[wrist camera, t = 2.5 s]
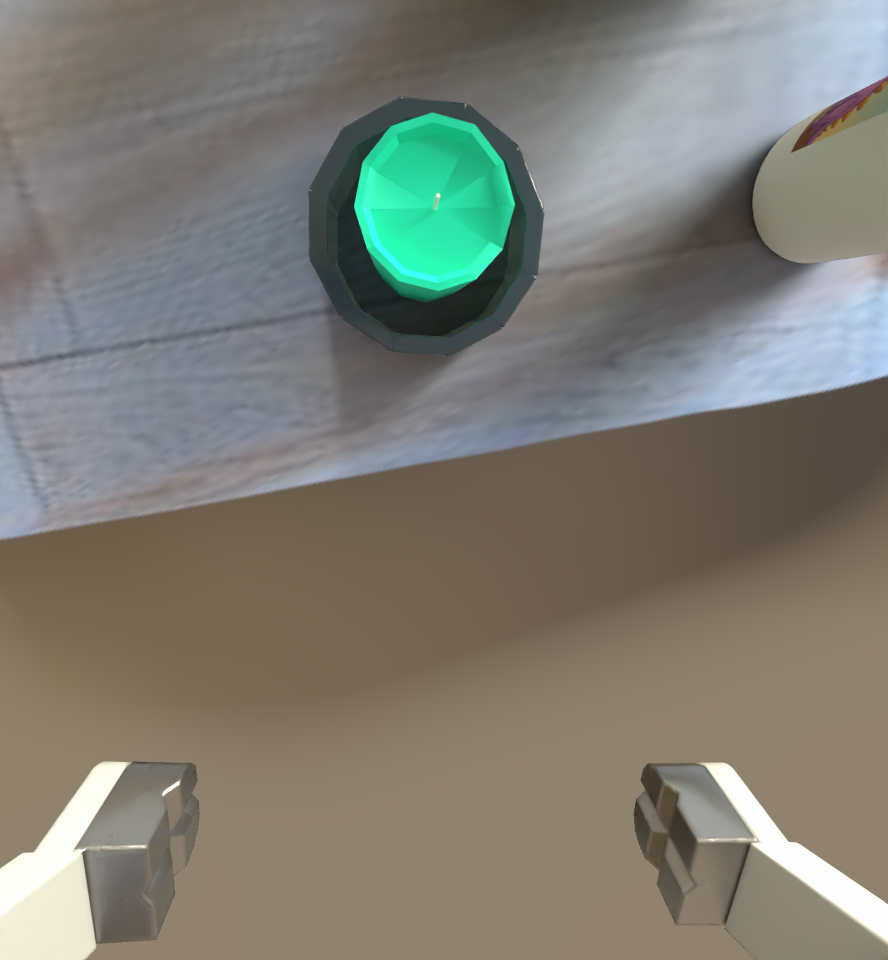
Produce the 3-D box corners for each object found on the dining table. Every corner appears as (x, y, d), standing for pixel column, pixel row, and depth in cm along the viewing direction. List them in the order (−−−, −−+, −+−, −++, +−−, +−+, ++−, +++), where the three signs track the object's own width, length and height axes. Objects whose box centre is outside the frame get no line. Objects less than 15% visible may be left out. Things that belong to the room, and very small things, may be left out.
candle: (407, 323, 30) (411, 321, 19) (349, 226, 29) (313, 160, 17) (495, 265, 30) (554, 228, 18) (441, 163, 28) (468, 53, 17)
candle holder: (283, 275, 29) (265, 267, 25) (391, 80, 27) (390, 39, 23) (451, 387, 32) (458, 396, 28) (563, 217, 30) (587, 201, 26)
